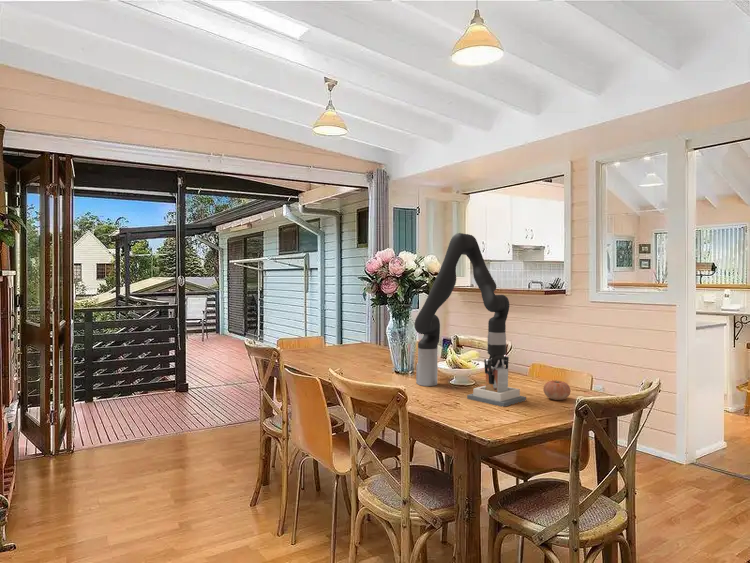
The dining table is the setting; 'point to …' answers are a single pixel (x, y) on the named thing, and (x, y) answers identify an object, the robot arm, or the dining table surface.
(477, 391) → the socket board
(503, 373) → the small box
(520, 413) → the dining table surface
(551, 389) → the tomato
